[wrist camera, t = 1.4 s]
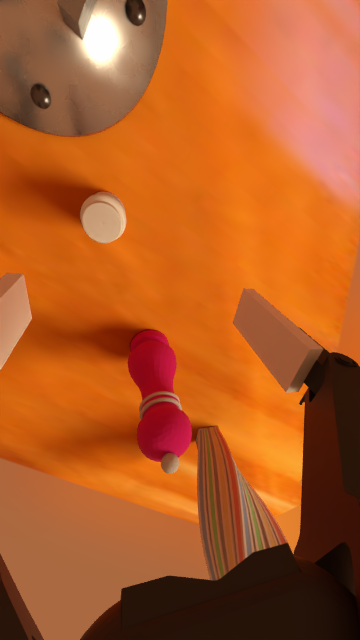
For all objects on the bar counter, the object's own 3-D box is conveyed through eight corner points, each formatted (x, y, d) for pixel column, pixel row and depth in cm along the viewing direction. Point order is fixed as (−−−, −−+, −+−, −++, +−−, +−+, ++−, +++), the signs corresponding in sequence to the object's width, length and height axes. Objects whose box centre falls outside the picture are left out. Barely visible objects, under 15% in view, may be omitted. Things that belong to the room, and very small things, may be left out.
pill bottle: (86, 187, 25) (75, 190, 19) (127, 196, 27) (129, 202, 20) (85, 228, 28) (75, 244, 21) (123, 235, 29) (124, 252, 22)
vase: (176, 453, 58) (219, 661, 33) (182, 419, 51) (242, 648, 26) (226, 445, 61) (299, 628, 37) (238, 412, 54) (337, 610, 30)
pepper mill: (118, 351, 38) (117, 488, 21) (143, 319, 36) (164, 443, 19) (154, 367, 41) (177, 494, 25) (179, 338, 39) (222, 457, 23)
